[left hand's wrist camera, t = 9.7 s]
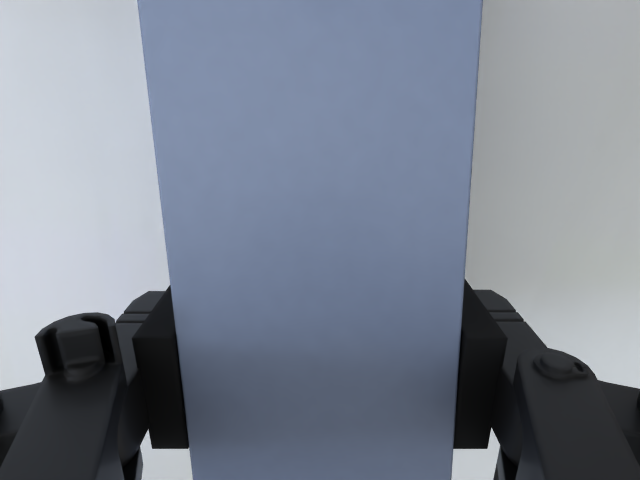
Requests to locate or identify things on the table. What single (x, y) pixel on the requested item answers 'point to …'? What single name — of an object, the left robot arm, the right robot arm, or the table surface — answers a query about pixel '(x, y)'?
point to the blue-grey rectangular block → (315, 228)
